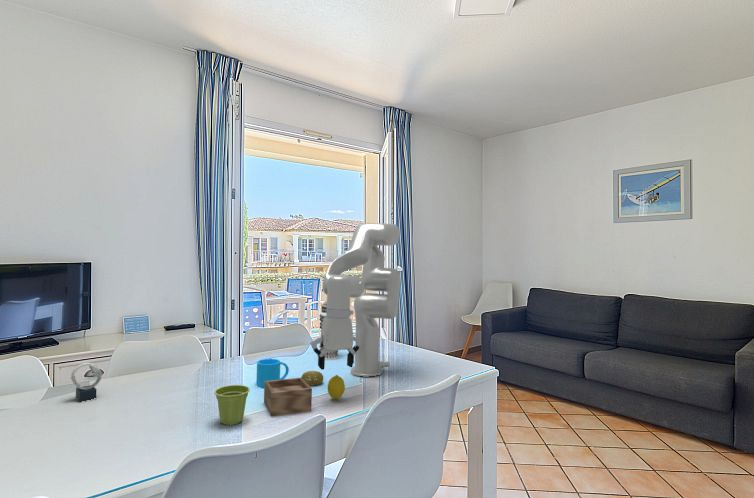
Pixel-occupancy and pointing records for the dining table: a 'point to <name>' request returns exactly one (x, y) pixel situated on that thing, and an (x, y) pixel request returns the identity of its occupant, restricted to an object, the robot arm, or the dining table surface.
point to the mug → (269, 371)
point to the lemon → (336, 387)
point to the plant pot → (231, 403)
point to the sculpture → (313, 378)
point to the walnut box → (287, 396)
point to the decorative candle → (329, 354)
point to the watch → (86, 391)
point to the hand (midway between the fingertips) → (335, 367)
